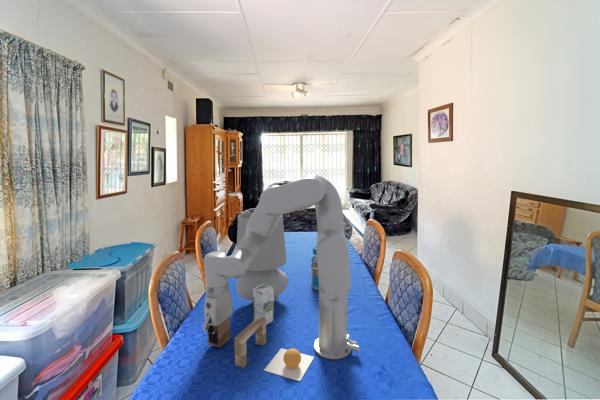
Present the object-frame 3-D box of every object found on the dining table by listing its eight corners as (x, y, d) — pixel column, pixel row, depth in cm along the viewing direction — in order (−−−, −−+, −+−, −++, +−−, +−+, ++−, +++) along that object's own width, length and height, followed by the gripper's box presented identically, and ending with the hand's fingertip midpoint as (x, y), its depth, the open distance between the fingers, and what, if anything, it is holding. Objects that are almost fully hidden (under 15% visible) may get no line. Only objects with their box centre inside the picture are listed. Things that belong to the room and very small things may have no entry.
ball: (305, 349, 102) (289, 342, 104) (297, 358, 97) (281, 351, 99) (302, 364, 103) (287, 357, 105) (295, 374, 98) (279, 367, 100)
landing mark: (314, 357, 105) (314, 356, 105) (299, 381, 94) (299, 380, 94) (281, 348, 110) (281, 348, 110) (263, 370, 99) (263, 370, 99)
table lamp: (282, 289, 157) (281, 208, 151) (295, 310, 137) (295, 217, 130) (234, 296, 150) (231, 211, 144) (240, 319, 129) (237, 221, 123)
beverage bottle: (308, 284, 163) (308, 245, 160) (324, 282, 165) (324, 244, 162) (314, 291, 155) (314, 250, 152) (330, 288, 157) (331, 249, 154)
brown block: (230, 338, 114) (229, 317, 113) (220, 347, 109) (218, 325, 108) (218, 335, 116) (217, 314, 115) (207, 344, 111) (206, 322, 110)
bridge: (266, 342, 114) (265, 318, 112) (243, 367, 100) (242, 340, 99) (258, 340, 115) (258, 316, 113) (235, 365, 102) (234, 338, 100)
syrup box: (263, 316, 131) (263, 282, 129) (274, 321, 128) (273, 286, 125) (253, 322, 127) (252, 287, 125) (263, 327, 123) (263, 291, 121)
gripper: (209, 301, 100) (212, 354, 103) (240, 280, 116) (242, 327, 119) (190, 297, 103) (193, 349, 106) (223, 277, 119) (225, 323, 122)
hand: (219, 337), depth 112 cm, fingers closed on brown block, 6 cm apart
